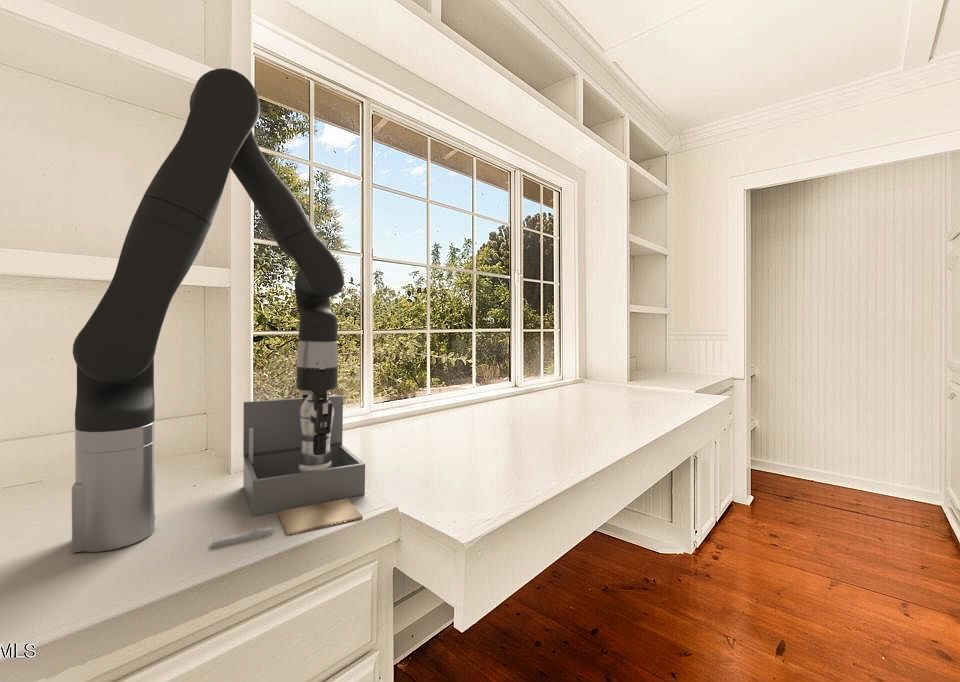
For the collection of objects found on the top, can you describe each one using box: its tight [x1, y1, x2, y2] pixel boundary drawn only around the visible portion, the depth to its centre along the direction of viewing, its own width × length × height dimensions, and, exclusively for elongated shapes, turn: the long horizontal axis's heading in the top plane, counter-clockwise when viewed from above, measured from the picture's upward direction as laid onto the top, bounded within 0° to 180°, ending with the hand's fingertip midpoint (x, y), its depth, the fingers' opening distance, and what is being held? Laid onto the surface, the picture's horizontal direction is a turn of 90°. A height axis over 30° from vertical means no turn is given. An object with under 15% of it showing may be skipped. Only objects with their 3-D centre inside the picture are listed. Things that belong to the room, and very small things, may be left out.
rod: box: [211, 526, 273, 549], centre depth 67 cm, size 8×1×1 cm, turn 124°
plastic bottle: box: [297, 390, 334, 473], centre depth 86 cm, size 6×7×20 cm
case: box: [242, 394, 366, 517], centre depth 87 cm, size 20×16×17 cm
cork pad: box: [277, 498, 363, 536], centre depth 76 cm, size 12×9×1 cm
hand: (315, 450), depth 86 cm, fingers closed on plastic bottle, 5 cm apart
